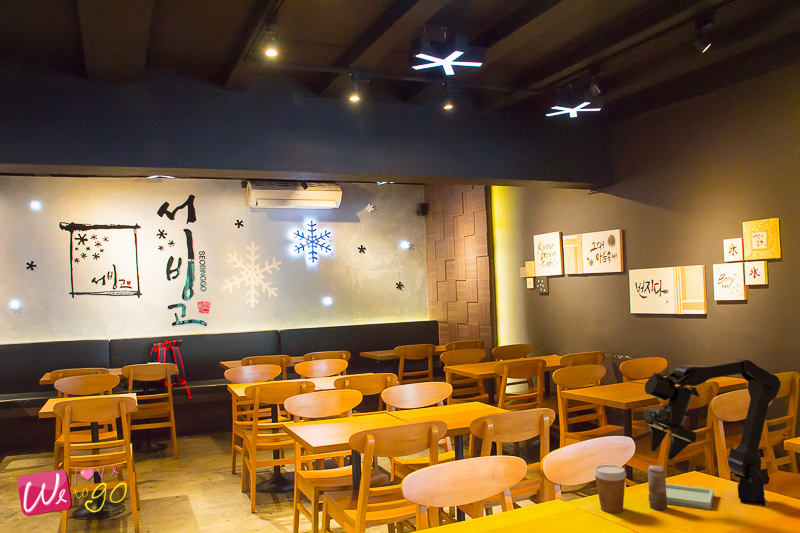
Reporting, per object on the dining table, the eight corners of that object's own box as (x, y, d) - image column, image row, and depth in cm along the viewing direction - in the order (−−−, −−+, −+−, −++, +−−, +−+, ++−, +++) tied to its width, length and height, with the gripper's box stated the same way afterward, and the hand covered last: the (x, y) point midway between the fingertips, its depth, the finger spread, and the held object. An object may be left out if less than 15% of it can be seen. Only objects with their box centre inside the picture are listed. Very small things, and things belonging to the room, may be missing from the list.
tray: (714, 495, 185) (713, 489, 185) (710, 509, 174) (709, 502, 174) (655, 488, 194) (655, 482, 195) (648, 501, 183) (648, 494, 184)
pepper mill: (668, 506, 179) (665, 466, 179) (666, 511, 174) (663, 470, 175) (651, 504, 181) (648, 464, 182) (648, 509, 177) (646, 468, 178)
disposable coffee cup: (631, 515, 173) (628, 474, 173) (597, 514, 175) (595, 473, 175) (625, 504, 182) (623, 464, 182) (593, 503, 184) (591, 464, 184)
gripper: (637, 391, 187) (621, 438, 186) (671, 402, 168) (653, 454, 167) (669, 403, 188) (653, 450, 186) (705, 415, 169) (688, 467, 168)
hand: (660, 455), depth 177 cm, fingers open, 9 cm apart
